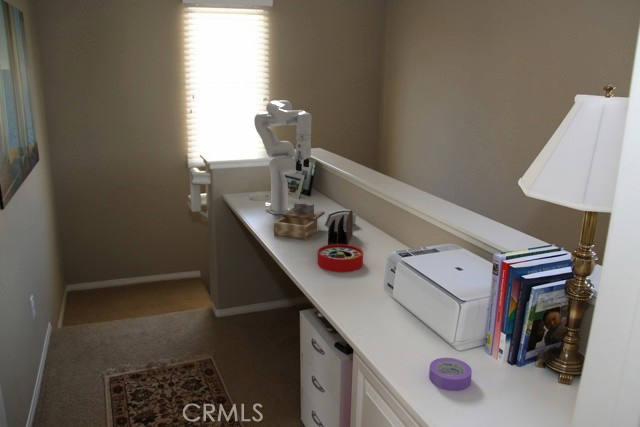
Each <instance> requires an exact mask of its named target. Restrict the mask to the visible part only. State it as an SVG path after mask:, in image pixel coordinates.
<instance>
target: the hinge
mask: <svg viewBox="0 0 640 427" xmlns="http://www.w3.org/2000/svg"><path fill="white" fill-rule="evenodd" d="M351 210H352V209H339V210H334V211H331V212H329V213H328V214H327V216H326V217H327V218H326V220H325V222H324V226H326V228H329V227H330V225H331V223H332V221H333V220H334V219H335V228H337V226H338V223H339V220H340V218H341V216H342V215H344V227H346V221H347V217H348V215H349V212H350V211H351ZM352 211H353V226H354V224H355V225H356V220H357V219H356V218H357V215H356V213H355V211H354V210H352Z"/></svg>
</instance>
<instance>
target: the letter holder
mask: <svg viewBox="0 0 640 427" xmlns="http://www.w3.org/2000/svg"><path fill="white" fill-rule="evenodd" d="M350 210H351V211H350V212H349V215H348V217H347V221H346V226H344V215H342V216H341V218H340V220H339V223H338V226H337V227H335V219H334V220H333V221H332V223H331V225H330V227H328V231H327V232H328V233H327V244H326V246H327V245H334V244H344V245H350V244H349V243H350V241H351V240H352V236H353V234H354V233H353V232H354V230H353V226H354V225H353V211H354V210H353V209H350ZM344 227H346V228H345V229H346V231H345V229H344ZM335 228H336V229H335Z"/></svg>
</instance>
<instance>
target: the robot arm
mask: <svg viewBox="0 0 640 427" xmlns="http://www.w3.org/2000/svg"><path fill="white" fill-rule="evenodd" d="M265 109H266V111H262V112H259V113H257V114H256V115H255V116H254V120H253V121H254V127H255V129H256V132H257V134H258V136H259V137H260V139H261V141H262V143H263V147H264V150H265V152H266V154H267V156H268V157H269V158H271V160H270V161H269V164H268V167H269V168H268V169H269V173H270V192H271V193H270V194H271V195H270V196H271V197H270V203H269V202H265V203H264V204H265V205H264V206H265V208H269V209H268V212H269V214H272V215H273V214H274V215H283V214H284V213H286V212H287V211H289V210H291V208H289V204H288V202H289V200H288V198H289V195H288V193H289V190H288V189H289V184H288V179H287V178H286V176H285V175H286V174H295V173H298V172H302V170H303V168H310V158H311V156H312V144H311V143H312V142H311V141H312V139H311V138H312V136H311V135H312V114H311V113H309V112H307V111H305V110H303V109H298V110H297V109H296V110H293V105H292V103H291V102H290V101H288V100H271V101H269V102H268V103H267V105H266V107H265ZM280 126H296V130H295V132H296V134H295V136H296V137H295V139H296V145H295V146H296V147H295V148H294V146H293V144H292V142H291V141H289V140H279V139H278V137H277V135H276V133H275V132H274V131H273V130H272V129H271V128H270V127H280ZM302 162H303V163H302Z"/></svg>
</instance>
